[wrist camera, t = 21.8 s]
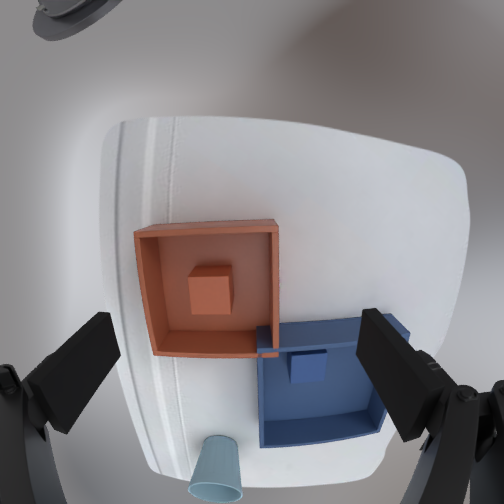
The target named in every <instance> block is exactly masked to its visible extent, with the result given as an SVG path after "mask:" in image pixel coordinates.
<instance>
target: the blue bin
mask: <svg viewBox="0 0 504 504" xmlns="http://www.w3.org/2000/svg"><path fill="white" fill-rule="evenodd" d="M382 315H383V316H384V317H385V318H386V319H387V320H388V321H389V323H390V324H391V325H392V326H393V327H394V328H395V329H396V330H397V331H398V332H399V333H400V334H401V335H402V337H403V338H404V339H405V340H406V341H407V342H408V341H409V337H410V332H409V331H408V330H407V329H406V328H405V327H404V326H403V325H402V324H401V323H400V322H399V321H398V320H397V319H396V318H395V317H394V316H393V315H392V314H391V313H390V314H382ZM361 318H362V317H355V318H345V319H334V320H321V321H307V322H290V323H279V348H278V349H277V348H276V349H275V348H273V345H272V336H271V328H270V325H268V326H256V338H257V353H258V354H261V356H260V355H258V356H260V357H261V358H260V357H258V358H257V375H258V407H259V441H260V448H278V447H292V446H302V445H311V444H319V443H327V442H333V441H339V440H345V439H350V438H355V437H360V436H365V435H369V434H374V433H378V432H380V429H381V427H382V424H383V422H384V419H385V417H386V414H387V410H386V408H385V406H384V404H383V402H382V401H381V399H380V397H379V395H378V393H377V391H376V390H375V388H374V386H373V384H372V382H371V381H370V379H369V377H368V375H367V373H366V372H365V370H364V368H363V366H362V365H361V363H360V361H359V359H358V358H357V356H356V349H357V343H358V337H359V331H360V325H361ZM274 349H275V350H274ZM319 349H326V350H327V353H328V356H327V364H326V372H325V380H324V381H317V382H307V383H295V384H290V380H289V374H288V369H287V352H292V351H307V350H319ZM273 352H279V357H269V358H262V353H273Z"/></svg>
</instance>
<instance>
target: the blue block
mask: <svg viewBox="0 0 504 504" xmlns="http://www.w3.org/2000/svg"><path fill="white" fill-rule="evenodd" d="M327 356H328V353H327V350H326V349H319V350H307V351H292V352H287V369H288V374H289V380H290V384H295V383H307V382H317V381H324V380H325V372H326V364H327Z"/></svg>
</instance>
